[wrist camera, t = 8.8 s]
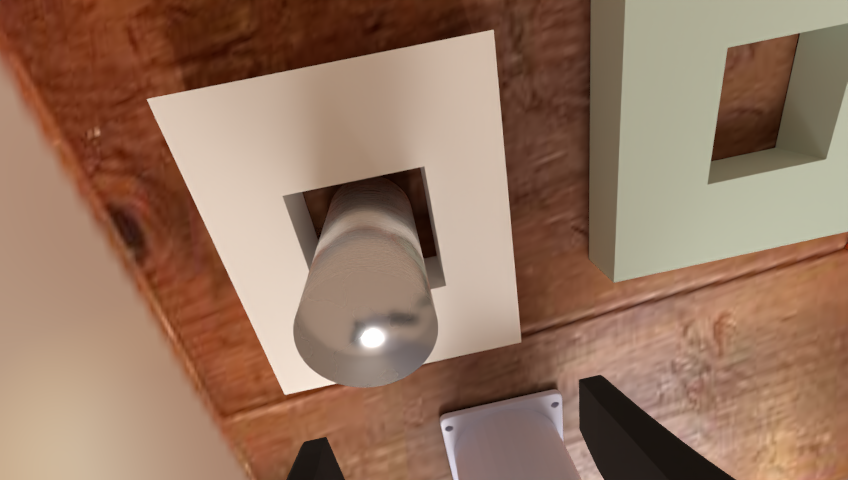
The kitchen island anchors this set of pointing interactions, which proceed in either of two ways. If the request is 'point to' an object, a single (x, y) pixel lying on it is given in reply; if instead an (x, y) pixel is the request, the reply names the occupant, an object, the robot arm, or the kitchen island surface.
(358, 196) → the steel peg
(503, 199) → the cream square-hole board
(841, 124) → the socket block
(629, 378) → the kitchen island surface
